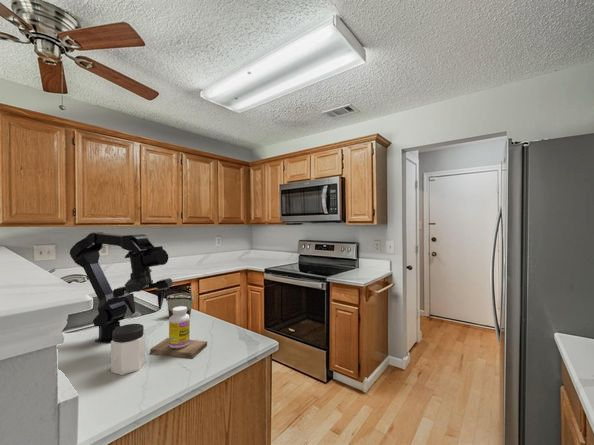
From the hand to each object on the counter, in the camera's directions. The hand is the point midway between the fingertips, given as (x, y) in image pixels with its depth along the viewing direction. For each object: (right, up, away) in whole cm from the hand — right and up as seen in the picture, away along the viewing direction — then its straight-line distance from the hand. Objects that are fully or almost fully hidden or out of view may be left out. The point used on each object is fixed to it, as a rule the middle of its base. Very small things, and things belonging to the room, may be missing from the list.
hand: (147, 311), depth 100 cm
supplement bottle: (+13, -11, -3) cm, 17 cm away
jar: (+3, -13, -15) cm, 20 cm away
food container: (0, -12, +30) cm, 32 cm away
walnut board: (+13, -12, -4) cm, 18 cm away
